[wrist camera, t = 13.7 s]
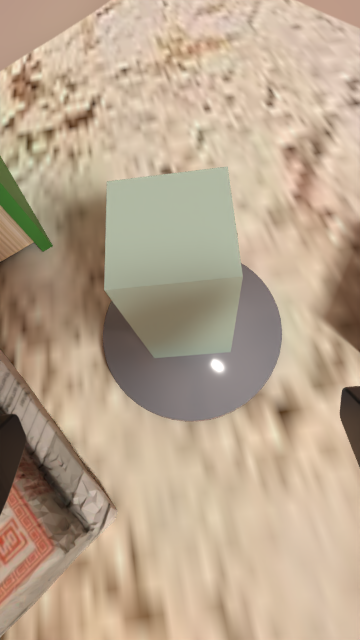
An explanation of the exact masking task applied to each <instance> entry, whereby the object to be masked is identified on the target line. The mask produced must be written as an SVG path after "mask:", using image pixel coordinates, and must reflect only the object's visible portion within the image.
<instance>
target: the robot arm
mask: <svg viewBox="0 0 360 640" xmlns="http://www.w3.org/2000/svg"><path fill="white" fill-rule="evenodd" d="M340 418H341V421H342V424H343V427H344V429H345V432H346V434H347V437H348V439H349V442H350V444H351V447H352V449H353V452H354V454H355V457H356V459H357V462H358V464H359V467H360V386H354V387H345V388H344V389H343V390H342V395H341V405H340ZM25 445H26V434H25V432H24V429H23V427H22V424H21V422H20V419H19V417H18V416H17V415H16V414H3V415H0V515H1V513H2V511H3V508H4V506H5V504H6V501H7V499H8V496H9V493H10V491H11V488H12V485H13V482H14V479H15V476H16V473H17V470H18V467H19V463H20V460H21V457H22V454H23V451H24V448H25Z"/></svg>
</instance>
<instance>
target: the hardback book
mask: <svg viewBox="0 0 360 640" xmlns="http://www.w3.org/2000/svg"><path fill="white" fill-rule="evenodd" d="M32 243H35V244H36V245H37V246H38V247H39V248H40V249H41V250H42V251H45V250H47V249H49V248H50V247H52V246H53V245H52V243H51V242H50V240H49V238H48V237H47V235H46V233H45V231H44V230H43V228H42V226H41V225H40V223H39V221H38V219H37V218H36V216H35V214H34V213H33V211H32V209H31V208H30V206H29V204H28V202H27V201H26V199H25V197H24V196H23V194H22V192H21V190H20V189H19V187H18V185H17V184H16V182H15V180H14V178H13V177H12V175H11V173H10V172H9V170H8V168H7V167H6V165H5V163H4V161H3V160H2V158H1V156H0V262H1V261H2V260H4V259H6V258H8V257H9V256H11V255H13V254H15V253H16V252H18V251H20V250H22V249H23V248H25V247H27V246H28V245H30V244H32Z"/></svg>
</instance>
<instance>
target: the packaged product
mask: <svg viewBox="0 0 360 640" xmlns="http://www.w3.org/2000/svg"><path fill="white" fill-rule="evenodd" d="M3 414H16V415H17V416H18V417H19V419H20V422H21V424H22V427H23V429H24V432H25V434H26V445H25V448H24V451H23V454H22V457H21V460H20V463H19V467H18V470H17V473H16V476H15V479H14V482H13V485H12V488H11V491H10V493H9V496H8V499H7V501H6V504H5V506H4V508H3V511H2V513H1V515H0V637H1V636H2V635H3V634H4V633H5V632H6V631H7V630H8V629H9V628H10V627H11V626H12V625H13V624H14V623H15V622H16V621H17V620H18V619H19V618H20V617H21V616H22V615H23V614H24V613H25V612H26V611H27V610H29V609H30V608H31V607H32V606H33V605H34V604H35V603H36V601H37V600H38V599H39V598H40V597H41V596H42V595H43V594H44V593H45V592H46V591H47V589H48V588H49V587H50V586H51V585H52V584H53V583H54V582H55V581H56V580H57V579H58V577H59V576H60V575H61V574H62V573H63V572H64V571H65V570H66V569H67V568H68V567H69V565H70V564H71V563H72V562H73V561H74V560H75V559H76V558H77V557H78V556H79V555H80V554H81V553H82V552H83V551H84V550H85V549H86V548H87V547H88V546H89V545H90V544H91V543H92V542H93V541H94V540H95V539H96V538H97V537H98V536H99V535H100V534H101V533H102V532H103V531H104V530H105V529H107V528H108V527H109V526H110V525H111V524H112V523H113V522H114V520H115V518H116V516H117V509H116V508H115V506H114V505H113V503H112V502H111V501H110V499H109V498H108V497H107V496H106V494H105V493H104V492H103V490H102V489H101V488H100V486H99V485H98V484H97V482H96V481H95V480H94V478H93V477H92V476H91V475H90V474H89V472H88V471H87V469H86V468H85V466H84V465H83V463H82V462H81V460H80V459H79V457H78V456H77V454H76V453H75V451H74V450H73V448H72V447H71V445H70V443H69V442H68V440H67V439H66V437H65V436H64V435H63V433H62V432H61V430H60V429H59V428H58V427H57V425H56V424H55V422H54V421H53V420H52V418H51V417H50V415H49V414H48V413H47V411H46V410H45V408H44V407H43V406H42V404H41V403H40V401H39V400H38V398H37V397H36V396H35V394H34V393H33V391H32V390H31V389H30V387H29V386H28V385H27V383H26V382H25V381H24V379H23V378H22V377H21V375H20V374H19V373H18V372H17V370H16V369H15V367H14V366H13V365H12V363H11V362H10V361H9V359H8V358H7V357H6V356H5V354H4V353H3V352H2V351H1V349H0V415H3Z"/></svg>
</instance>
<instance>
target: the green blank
mask: <svg viewBox="0 0 360 640" xmlns="http://www.w3.org/2000/svg"><path fill="white" fill-rule="evenodd" d="M242 279H243V274H242V267H241V260H240V252H239V245H238V238H237V231H236V224H235V216H234V209H233V202H232V195H231V188H230V180H229V173H228V167H220V168H212V169H204V170H196V171H188V172H180V173H172V174H164V175H156V176H148V177H139V178H131V179H123V180H115V181H107V197H106V237H105V278H104V291H105V292H106V293H107V295H108V296H109V297H110V299H111V300H112V301H113V303H114V304H115V306H116V307H117V308H118V310H119V311H120V312H121V314H122V315H123V316H124V318H125V319H126V320H127V322H128V323H129V325H130V326H131V327H132V329H133V330H134V331H135V333H136V334H137V335H138V337H139V338H140V339H141V341H142V342H143V343H144V345H145V346H146V348H147V349H148V350H149V352H150V353H151V354H152V356H153V357H154V358H163V357H175V356H188V355H200V354H212V353H224V352H231V347H232V341H233V335H234V328H235V322H236V316H237V310H238V304H239V297H240V291H241V285H242Z"/></svg>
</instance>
